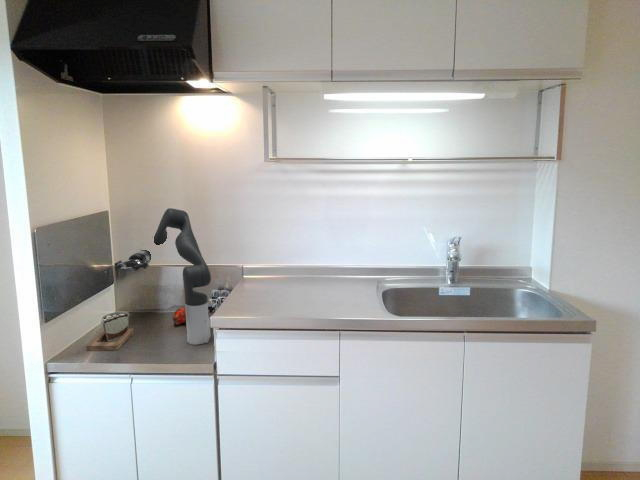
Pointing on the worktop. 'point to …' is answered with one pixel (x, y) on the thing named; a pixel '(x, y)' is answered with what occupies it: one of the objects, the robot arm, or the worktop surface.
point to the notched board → (99, 345)
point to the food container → (115, 324)
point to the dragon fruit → (180, 316)
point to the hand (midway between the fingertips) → (126, 268)
